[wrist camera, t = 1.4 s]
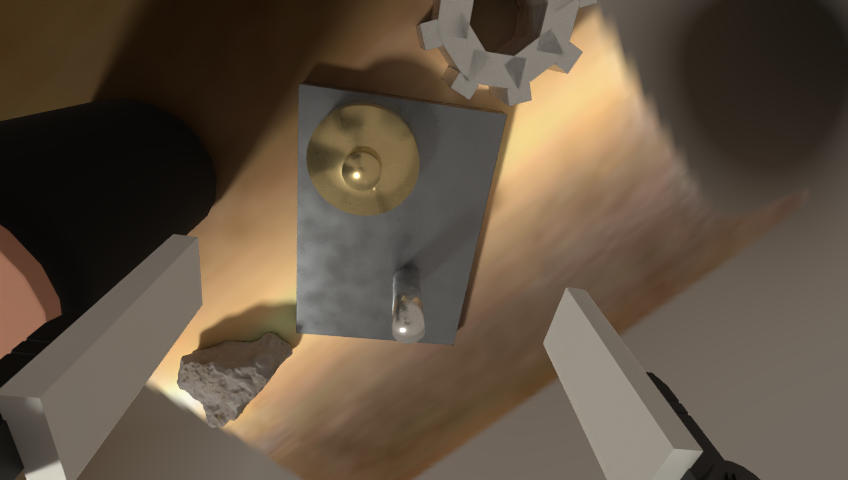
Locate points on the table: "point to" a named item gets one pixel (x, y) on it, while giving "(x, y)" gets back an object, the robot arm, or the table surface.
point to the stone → (231, 374)
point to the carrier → (388, 212)
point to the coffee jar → (90, 204)
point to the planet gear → (503, 47)
